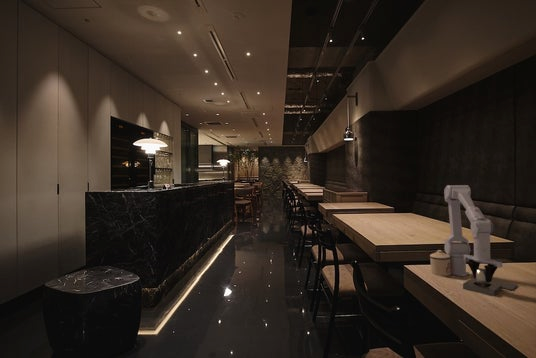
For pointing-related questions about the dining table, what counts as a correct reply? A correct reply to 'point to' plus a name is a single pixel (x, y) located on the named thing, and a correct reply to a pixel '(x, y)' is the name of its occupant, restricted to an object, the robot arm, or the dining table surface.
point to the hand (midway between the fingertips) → (482, 280)
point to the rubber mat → (506, 285)
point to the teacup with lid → (440, 264)
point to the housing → (482, 287)
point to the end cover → (481, 277)
